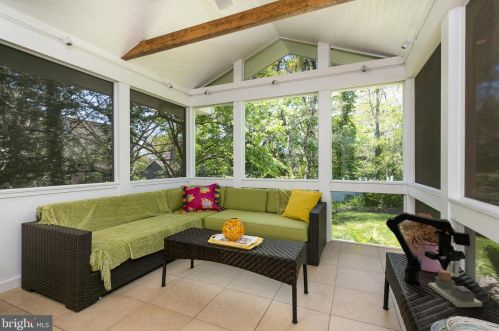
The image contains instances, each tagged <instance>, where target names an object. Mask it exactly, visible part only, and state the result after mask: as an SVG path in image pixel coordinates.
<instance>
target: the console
mask: <svg viewBox="0 0 499 331" xmlns="http://www.w3.org/2000/svg"><path fill="white" fill-rule="evenodd" d="M427 284H428V287H429V288H430V289H432V290H433V291H435V292H436V293H437V294H439V295H440V296H441V297H442V298H444V299H445V300H447V301H448V300H449V302H450V303H451V302H452V303H451V304H452V305H454V306H455V307H457V308H476V307H477V308H478V307H479V308H481V307H483V302H482V301H480V300H479V299H477V298H475V293H473V292H472V291H470V293H461V292H459V291H458V290H456V289H455V286H456V283H455V280H452V279H451V282H444V281H442V280H441V279H439V278H438V276H434V282H428V283H427Z"/></svg>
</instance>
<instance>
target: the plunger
mask: <svg viewBox="0 0 499 331" xmlns="http://www.w3.org/2000/svg"><path fill="white" fill-rule="evenodd" d="M455 289H456V290H458V291H459V292H461V293H470V292H471V290H470V288H469V289H468V288H467V287H465V286H464V285H457V286H456V285H455Z"/></svg>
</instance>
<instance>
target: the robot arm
mask: <svg viewBox="0 0 499 331" xmlns="http://www.w3.org/2000/svg"><path fill="white" fill-rule="evenodd" d="M404 221H409V222H413V223H417V224H422V225H425V226H430V227H432V228H434V229H435V230H434V231H433V234H435V235H437V242H435V244H436V245H437V249H436V250H435V251H436V252H435V251H433V250H425V251H424V257H426V258H428V259H430V260H433V261H436V260H437V261H438V263H439V264H440V266H441V268H442V269H441V270H446V271H447V267H448V265H449V264H450V262H451V261H460V262H461V260H466V255H465V252H464V251H463V250H455V249H454V248H455V247H454V245H452V243H454V244H455V245H458V246H463V247H469V248H470V247H471V239H470V233H469V232H459V231H456V230H455V229H454V227H453V226H452V223H451V221H450V220H448V219H445V218H431V217H427V216H421V215H417V214H413V213H409V212H406V211H404V212H402V213H400V214H398V215H395V216H393V217H392V216H390V217H389V218H388V219H387V220H386V222H385V225H386V226H387V229H388V230H389V231H390V232H392V233H393V235H394V236H395V238H396V240H397V242H398V244H399V246H400V247H401V249H402V251H403V253H404V254H405V257H406V261H407V263H406V265H405V269H404V277H402V279H403V280H404V281H405V282H406V283H408V284H409V285H421V282H420V274H419V272H421V271H422V263H423V261H422V260H421V258H420V256H419V254H417V255H416V254H415V253H414V252H413V250H412V248H411V247H410V244H409V242H408V241H407V239H406V237H405V236H404V234H403V232H402V231H401V226H400V224H401V223H403V222H404Z"/></svg>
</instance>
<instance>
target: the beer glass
mask: <svg viewBox="0 0 499 331" xmlns="http://www.w3.org/2000/svg"><path fill="white" fill-rule="evenodd" d="M460 264H461V260H460V261H451V262H450V264H449V265H448V267H447V269H446V271H448V272H450V273H451V278H459V277H460V273H459V269H460V268H459V267H460Z"/></svg>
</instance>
